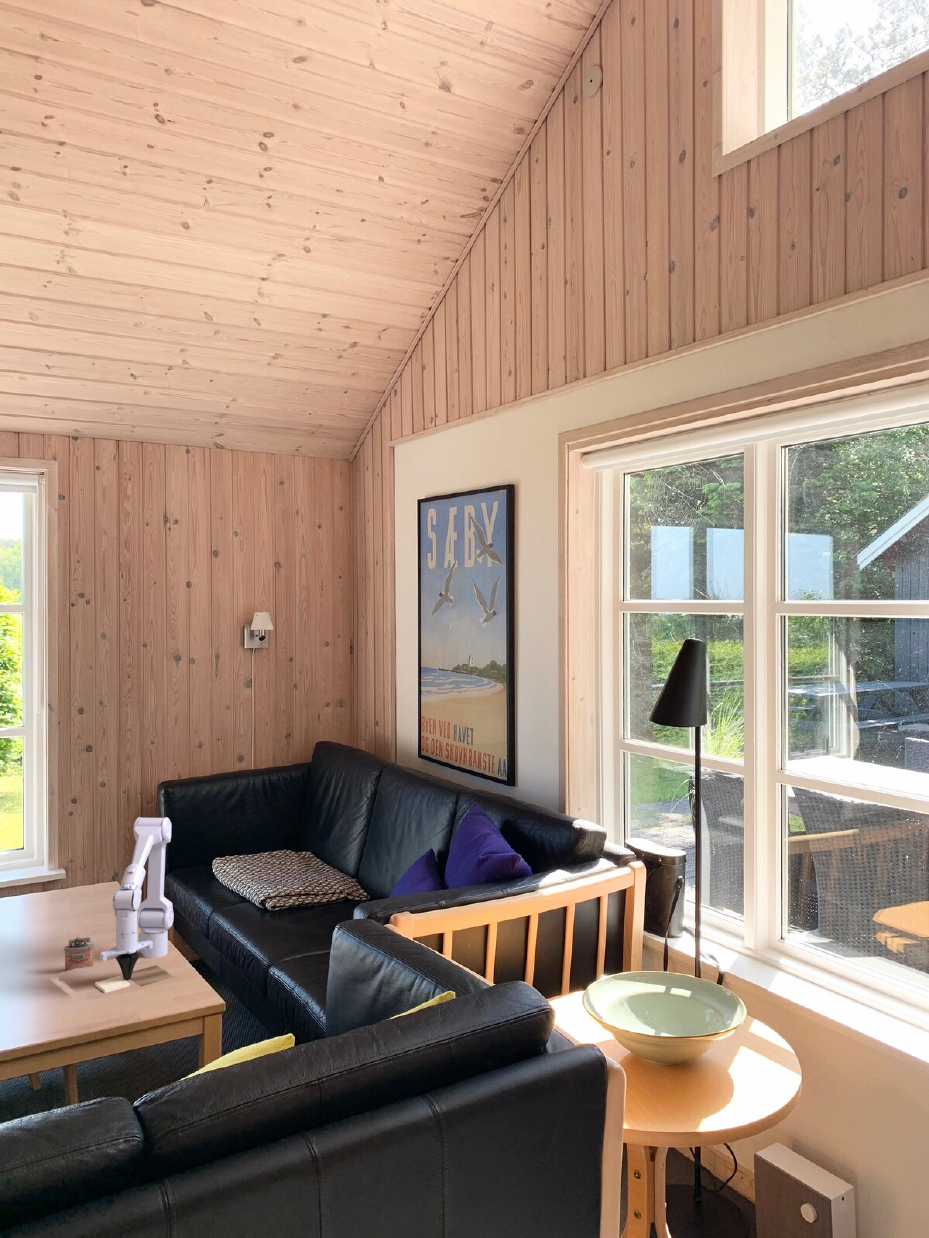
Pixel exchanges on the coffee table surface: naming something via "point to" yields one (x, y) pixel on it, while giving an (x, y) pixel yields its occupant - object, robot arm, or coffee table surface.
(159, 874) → the robot arm
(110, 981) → the cream flat block
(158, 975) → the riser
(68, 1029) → the coffee table surface
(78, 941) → the lighter
